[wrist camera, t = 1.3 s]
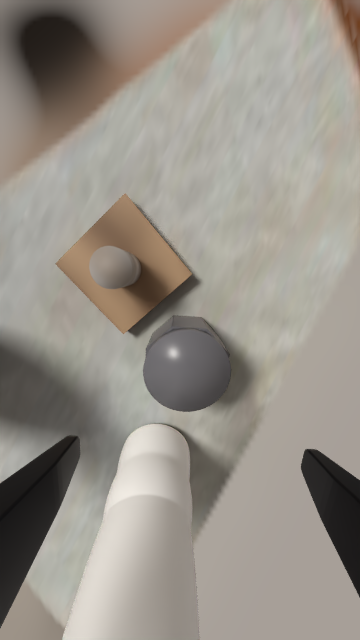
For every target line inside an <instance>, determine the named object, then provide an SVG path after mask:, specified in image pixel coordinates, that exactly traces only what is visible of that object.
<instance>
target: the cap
mask: <svg viewBox="0 0 360 640" xmlns="http://www.w3.org/2000/svg"><path fill="white" fill-rule="evenodd" d="M229 355H230V354H229V352H228V351H227V349H226V348H225V346H224V344H223V343H222V341H221V339H220V338H219V337H218V335H217V334H216V333H215V332H214V331H213V330H212V328H211V327H210V326H209V325H208V324H207V323H206V321H205V320H204V319H203V318H202V317H189V316H175V315H174V316H172V317H171V318H170V319H169V320H168V321H167V322H165V323H164V324H163V325H162V326H161V327H159V328H158V329H157V330H156V331H155V332H154V333H153V334H152V336H151V339H150V341H149V343H148V345H147V348H146V359H145V363H144V368H143V376H144V381H145V384H146V387H147V389H148V391H149V392H150V394H151V395H152V396H153V397H154V399H155V400H157V401H158V402H159V403H160V404H162V405H163V406H165V407H167V408H170V409H173V410H177V411H183V412H190V411H197V410H201V409H203V408H206V407H208V406H210V405H212V404H213V403H215V402H216V401H217V400H218V399H219V398H220V397H221V396H222V395H223V393H224V392H225V390H226V388H227V387H228V384H229V381H230V376H231V366H230V361H229Z"/></svg>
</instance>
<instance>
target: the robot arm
mask: <svg viewBox="0 0 360 640" xmlns="http://www.w3.org/2000/svg"><path fill="white" fill-rule="evenodd" d="M79 458H80V439H79V437H78V436H71V435H69V436H67V437H65V438H64V439H62V440H61V441H59V442H58V443H57V444H55V445H54V446H52V447H51V448H50V449H48V450H47V451H45V452H44V453H42V454H41V455H40V456H38V457H37V458H35V459H34V460H33V461H31V462H30V463H28V464H27V465H26V466H24V467H23V468H21V469H20V470H18V471H17V472H16V473H14V474H13V475H11V476H10V477H9V478H7V479H6V480H4V481H3V482H2V483H0V628H1V626H2V624H3V622H4V620H5V618H6V616H7V614H8V612H9V609H10V608H11V606H12V604H13V602H14V599H15V598H16V596H17V594H18V592H19V589H20V587H21V585H22V583H23V581H24V579H25V577H26V575H27V573H28V571H29V569H30V567H31V565H32V563H33V561H34V559H35V557H36V555H37V553H38V551H39V549H40V547H41V545H42V543H43V541H44V539H45V537H46V535H47V533H48V531H49V529H50V527H51V525H52V523H53V521H54V519H55V517H56V515H57V513H58V510H59V508H60V506H61V504H62V501H63V499H64V497H65V494H66V491H67V489H68V486H69V484H70V481H71V479H72V476H73V474H74V471H75V469H76V466H77V464H78V461H79ZM301 470H302V473H303V476H304V478H305V481H306V483H307V486H308V488H309V491H310V493H311V496H312V498H313V501H314V503H315V505H316V508H317V510H318V513H319V515H320V518H321V520H322V522H323V524H324V526H325V528H326V530H327V532H328V534H329V536H330V538H331V540H332V542H333V544H334V546H335V548H336V550H337V552H338V554H339V556H340V558H341V560H342V562H343V565H344V567H345V569H346V570H347V573H348V574H349V577H350V579H351V580H352V583H353V585H354V587H355V589H356V590H357V593H358V594H359V597H360V480H359V479H357V478H356V477H354V476H353V475H352V474H350V473H349V472H347V471H346V470H345V469H343V468H342V467H340V466H339V465H338V464H336V463H335V462H333V461H332V460H330V459H329V458H328V457H326V456H325V455H324V454H322V453H321V452H319V451H318V450H315V449H306V450H305V451H304V455H303V459H302V464H301Z"/></svg>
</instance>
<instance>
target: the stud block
mask: <svg viewBox="0 0 360 640" xmlns="http://www.w3.org/2000/svg"><path fill="white" fill-rule="evenodd" d="M56 265H57V266H58V267H59V268H60V269H61V270H62V271H63V272H64V273H65V274H66V275H67V276H68V277H69V278H70V280H71V281H72V282H73V283H74V284H75V285H76V286H77V287H78V288H79V289H80V290H81V291H82V292H83V293H84V294H85V295H86V296H87V297H88V298H89V299H90V300H91V301H92V302H93V303H94V304H95V305H96V306H97V307H98V309H99V310H100V311H101V312H102V313H103V314H104V315H105V316H106V317H107V318H108V319H109V320H110V321H111V322H112V323H113V324H114V325H115V326H116V327H117V328H118V329H119V330H120V331H121V332H122V333H123V334H124V333H125V332H127V331H128V330H129V329H130V328H131V327H132V326H133V325H135V324H136V323H137V322H138V321H139V320H140V319H141V318H143V317H144V316H145V315H146V314H147V313H148V312H149V311H151V310H152V309H153V308H154V307H155V306H156V305H158V304H159V303H160V302H161V301H162V300H163V299H164V298H166V297H167V296H168V295H169V294H170V293H171V292H172V291H174V290H175V289H176V288H177V287H178V286H179V285H180V284H182V283H183V282H184V281H185V280H186V279H187V278H188V277H190V276H191V275H192V273H191V272H190V271H189V270H188V268H187V267H186V266H185V265H184V264H183V262H182V261H181V260H180V259H179V257H178V256H177V255H176V254H175V253H174V251H173V250H172V249H171V248H170V247H169V245H168V244H167V243H166V242H165V241H164V239H163V238H162V237H161V236H160V235H159V233H158V232H157V231H156V230H155V229H154V227H153V226H152V225H151V224H150V223H149V221H148V220H147V219H146V218H145V216H144V215H143V214H142V213H141V212H140V210H139V209H138V208H137V207H136V206H135V204H134V203H133V202H132V201H131V200H130V198H129V197H128V196H127V195H126V194H124V195H123V196H122V197H121V198H120V199H119V200H118V201H117V202H116V203H115V204H114V205H113V206H112V207H111V208H110V209H109V210H108V211H107V212H106V213H105V214H104V215H103V216H102V217H101V218H100V219H99V220H98V221H97V222H96V223H95V224H94V225H93V226H92V227H91V228H90V229H89V230H88V231H87V232H86V233H85V234H84V235H83V236H82V237H81V238H80V239H79V240H78V241H77V242H76V243H75V244H74V245H73V246H72V247H71V248H70V249H69V250H68V251H67V252H66V253H65V254H64V255H63V256H62V257H61V258H60V259H59V260H58V262H57V263H56Z"/></svg>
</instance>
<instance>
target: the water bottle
mask: <svg viewBox="0 0 360 640" xmlns="http://www.w3.org/2000/svg"><path fill="white" fill-rule="evenodd" d="M189 477H190V453H189V447H188V444H187V442H186V440H185V438H184V437H183V436H182V434H181V433H180V432H178V431H177V430H176V429H174V428H172V427H170V426H167V425H163V424H149V425H145V426H142V427H140V428H138V429H136V430H135V431H133V432H132V433H131V434H130V435H129V437H128V438H127V440H126V441H125V444H124V446H123V449H122V452H121V456H120V459H119V464H118V469H117V474H116V476H115V478H114V480H113V483H112V485H111V488H110V491H109V494H108V497H107V501H106V505H105V509H104V516H103V522H102V524H101V527H100V529H99V532H98V534H97V537H96V540H95V542H94V545H93V548H92V550H91V553H90V556H89V559H88V562H87V564H86V567H85V570H84V573H83V576H82V579H81V582H80V585H79V588H78V591H77V594H76V597H75V600H74V604H73V607H72V610H71V613H70V616H69V619H68V622H67V625H66V629H65V632H64V635H63V638H62V640H200V636H199V620H198V602H197V587H196V574H195V563H194V552H193V543H192V535H191V523H192V495H191V488H190V483H189Z"/></svg>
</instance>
